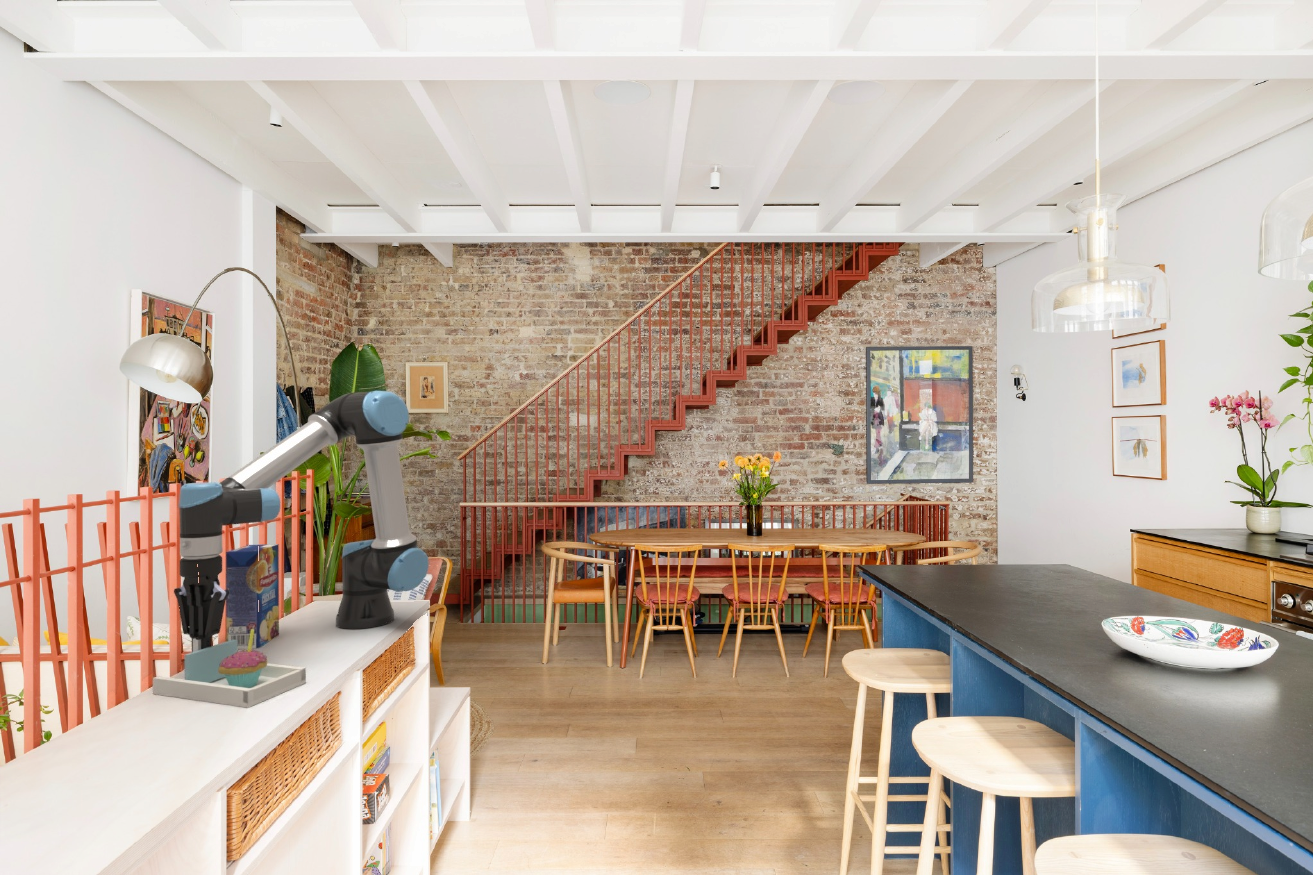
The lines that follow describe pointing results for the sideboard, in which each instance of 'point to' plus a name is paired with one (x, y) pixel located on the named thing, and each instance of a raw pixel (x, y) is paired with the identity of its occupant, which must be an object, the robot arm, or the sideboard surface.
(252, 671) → the cupcake
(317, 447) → the robot arm
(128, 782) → the sideboard surface
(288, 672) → the white shallow tray
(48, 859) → the sideboard surface
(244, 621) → the juice carton
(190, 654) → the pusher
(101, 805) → the sideboard surface
